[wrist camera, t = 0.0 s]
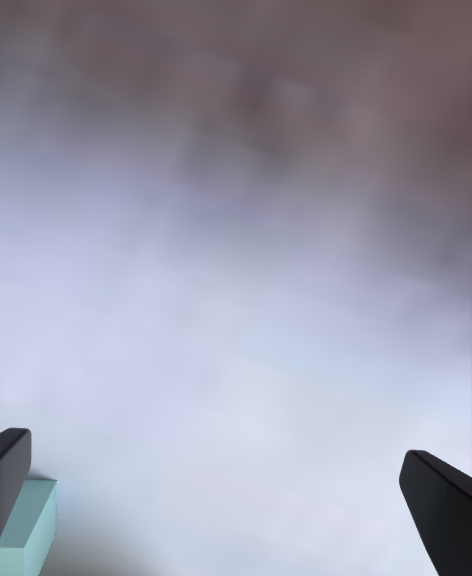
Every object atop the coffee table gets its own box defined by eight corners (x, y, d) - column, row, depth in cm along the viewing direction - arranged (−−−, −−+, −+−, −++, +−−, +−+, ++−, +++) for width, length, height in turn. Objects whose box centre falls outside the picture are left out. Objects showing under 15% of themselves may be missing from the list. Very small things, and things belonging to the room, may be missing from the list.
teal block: (56, 533, 26) (23, 610, 21) (-13, 532, 26) (-61, 610, 21) (57, 480, 25) (24, 547, 20) (-14, 477, 25) (-66, 546, 20)
